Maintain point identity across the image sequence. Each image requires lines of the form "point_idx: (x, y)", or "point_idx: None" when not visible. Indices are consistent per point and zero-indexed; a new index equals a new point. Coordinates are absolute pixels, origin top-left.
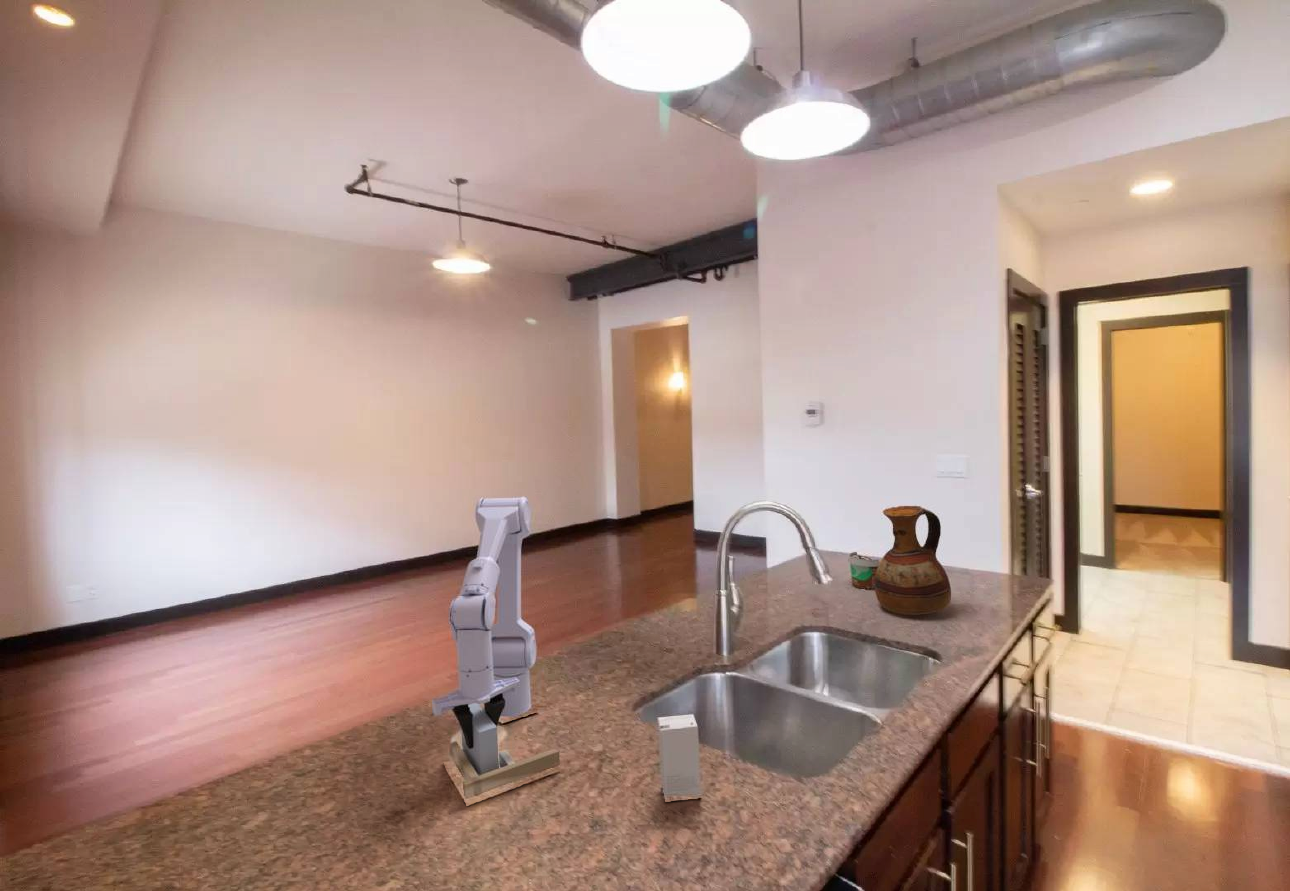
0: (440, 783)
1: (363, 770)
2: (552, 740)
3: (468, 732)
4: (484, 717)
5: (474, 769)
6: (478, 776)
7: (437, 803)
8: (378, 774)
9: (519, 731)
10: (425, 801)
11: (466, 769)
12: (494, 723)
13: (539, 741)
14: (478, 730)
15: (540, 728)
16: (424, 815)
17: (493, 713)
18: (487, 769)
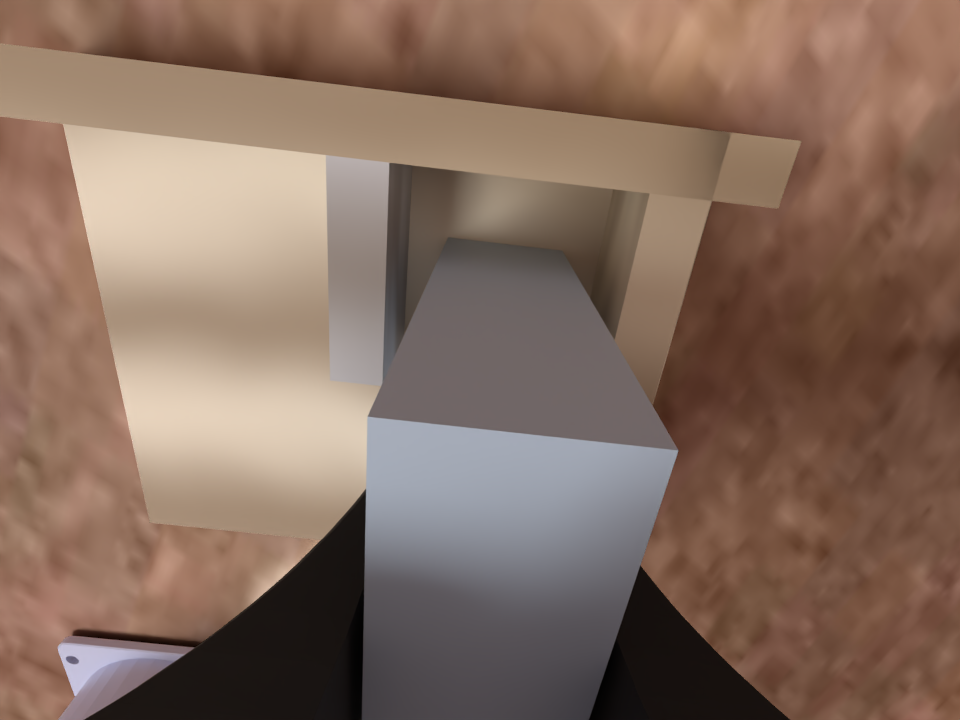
0: (687, 443)
1: (842, 701)
2: (47, 405)
3: (644, 596)
4: (412, 705)
5: (625, 298)
6: (657, 181)
7: (800, 298)
8: (824, 652)
9: (194, 570)
10: (828, 357)
11: (666, 339)
12: (333, 573)
13: (120, 441)
14: (643, 507)
15: (87, 532)
16: (914, 244)
17: (295, 704)
18: (528, 268)
